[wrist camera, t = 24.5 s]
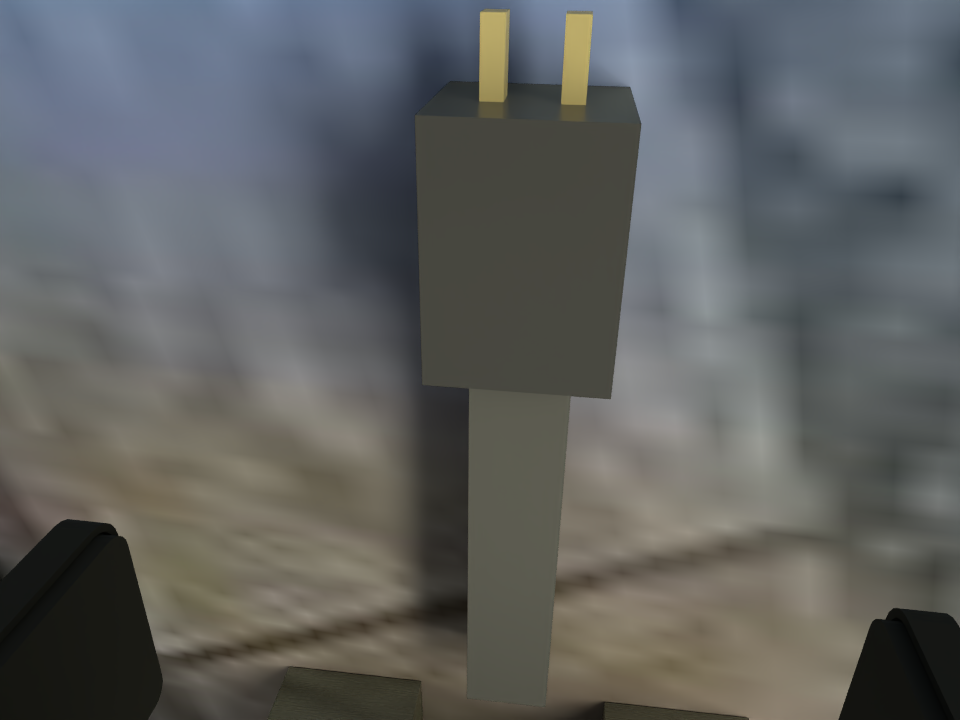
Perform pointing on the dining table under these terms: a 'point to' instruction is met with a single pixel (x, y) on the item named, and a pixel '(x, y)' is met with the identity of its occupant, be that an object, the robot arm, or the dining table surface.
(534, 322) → the plug
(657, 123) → the dining table surface
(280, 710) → the grey boxy piece
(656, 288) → the dining table surface
